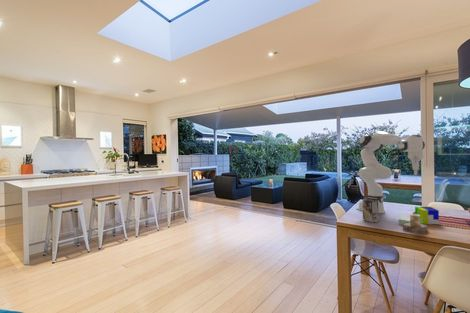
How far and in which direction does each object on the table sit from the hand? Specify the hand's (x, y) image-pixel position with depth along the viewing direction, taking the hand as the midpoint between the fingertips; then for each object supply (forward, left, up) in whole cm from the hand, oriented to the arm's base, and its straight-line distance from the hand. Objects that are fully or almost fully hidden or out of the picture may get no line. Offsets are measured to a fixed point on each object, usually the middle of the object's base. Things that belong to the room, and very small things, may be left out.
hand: (415, 174), depth 175 cm
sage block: (0, -11, -36) cm, 37 cm away
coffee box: (-20, -25, -35) cm, 48 cm away
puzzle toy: (+5, +4, -35) cm, 36 cm away
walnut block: (+8, -22, -36) cm, 43 cm away
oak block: (+8, -22, -32) cm, 40 cm away
